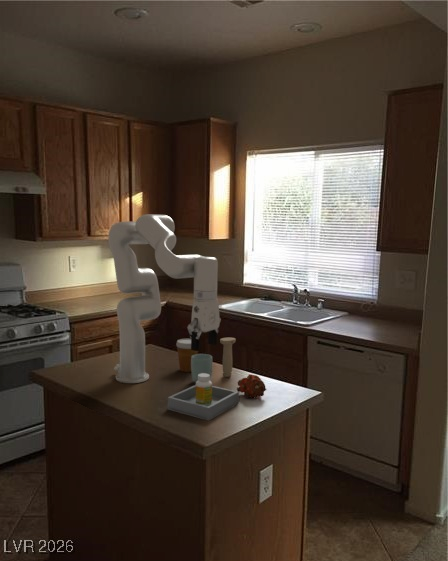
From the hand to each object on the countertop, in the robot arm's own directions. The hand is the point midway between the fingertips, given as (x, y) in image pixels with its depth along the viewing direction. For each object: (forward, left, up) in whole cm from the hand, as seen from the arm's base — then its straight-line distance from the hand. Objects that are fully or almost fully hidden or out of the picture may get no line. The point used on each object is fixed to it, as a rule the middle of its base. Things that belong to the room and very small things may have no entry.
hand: (204, 347), depth 162 cm
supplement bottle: (0, 0, -19) cm, 19 cm away
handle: (-11, +32, -20) cm, 39 cm away
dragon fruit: (+8, +17, -20) cm, 28 cm away
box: (0, 0, -20) cm, 20 cm away
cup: (-15, +20, -20) cm, 32 cm away
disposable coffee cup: (-29, +30, -20) cm, 46 cm away
